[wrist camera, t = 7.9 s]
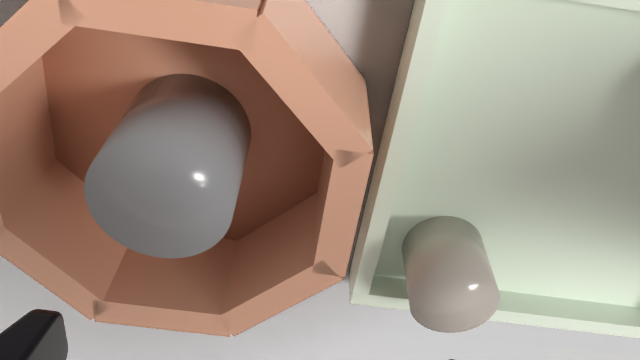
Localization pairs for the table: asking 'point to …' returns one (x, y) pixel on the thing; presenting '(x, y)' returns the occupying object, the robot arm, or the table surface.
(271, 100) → the bowl
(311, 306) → the table surface
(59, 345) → the robot arm
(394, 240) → the tray
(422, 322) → the pebble
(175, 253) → the grey rounded cylinder
